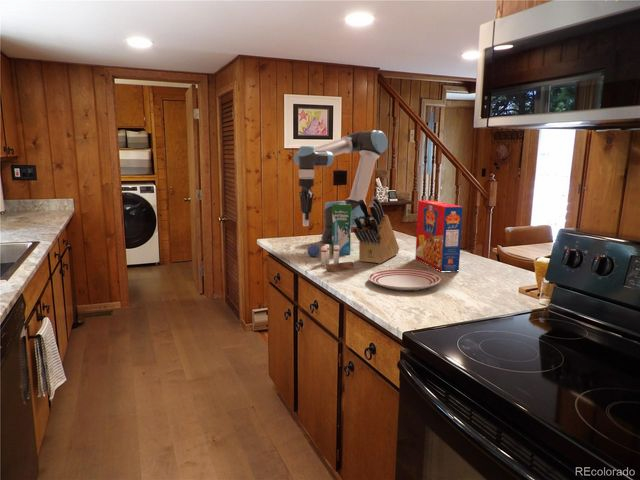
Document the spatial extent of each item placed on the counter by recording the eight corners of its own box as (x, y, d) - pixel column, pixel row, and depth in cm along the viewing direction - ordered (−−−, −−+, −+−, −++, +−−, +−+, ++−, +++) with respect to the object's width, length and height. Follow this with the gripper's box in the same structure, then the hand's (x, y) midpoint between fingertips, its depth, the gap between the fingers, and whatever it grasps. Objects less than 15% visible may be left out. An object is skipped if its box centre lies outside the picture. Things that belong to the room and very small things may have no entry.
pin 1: (325, 264, 211) (325, 246, 209) (327, 266, 208) (327, 247, 207) (320, 265, 210) (320, 246, 208) (322, 266, 207) (322, 247, 206)
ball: (316, 255, 231) (316, 243, 230) (321, 257, 226) (321, 245, 225) (305, 255, 229) (305, 243, 228) (310, 258, 223) (310, 246, 222)
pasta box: (415, 258, 226) (418, 200, 221) (430, 258, 227) (433, 200, 222) (441, 272, 199) (445, 207, 194) (458, 272, 200) (462, 206, 195)
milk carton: (350, 251, 242) (351, 202, 237) (349, 254, 233) (351, 204, 228) (333, 250, 243) (333, 202, 238) (331, 254, 234) (332, 204, 229)
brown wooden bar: (351, 268, 205) (351, 261, 204) (353, 269, 203) (353, 262, 202) (326, 270, 200) (326, 263, 199) (328, 271, 198) (328, 264, 197)
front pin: (327, 262, 215) (327, 244, 214) (330, 263, 213) (330, 245, 212) (322, 262, 214) (322, 244, 213) (325, 264, 212) (325, 245, 211)
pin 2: (337, 263, 213) (337, 245, 212) (339, 264, 211) (340, 246, 209) (332, 264, 212) (332, 245, 211) (334, 265, 210) (335, 246, 208)
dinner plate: (366, 293, 169) (366, 284, 168) (368, 274, 196) (369, 266, 195) (444, 296, 165) (445, 287, 165) (436, 277, 192) (436, 269, 191)
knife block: (349, 265, 209) (351, 196, 204) (378, 252, 240) (380, 191, 235) (373, 268, 204) (375, 197, 199) (399, 254, 235) (401, 192, 229)
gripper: (294, 177, 234) (294, 224, 238) (304, 178, 222) (303, 228, 226) (308, 177, 237) (307, 224, 241) (318, 178, 225) (318, 227, 229)
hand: (305, 226), depth 233 cm, fingers closed
